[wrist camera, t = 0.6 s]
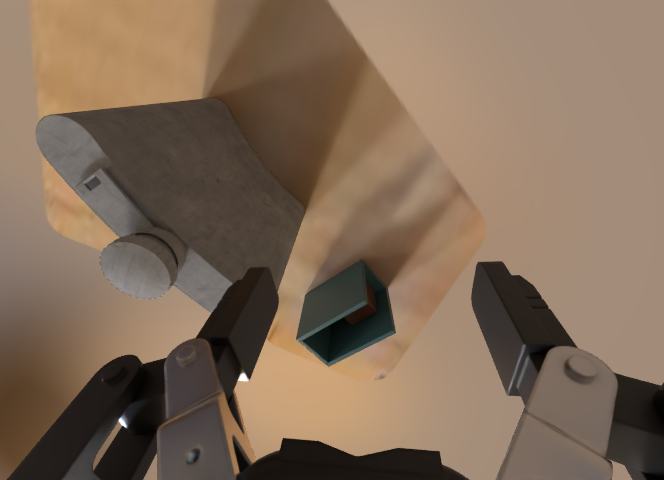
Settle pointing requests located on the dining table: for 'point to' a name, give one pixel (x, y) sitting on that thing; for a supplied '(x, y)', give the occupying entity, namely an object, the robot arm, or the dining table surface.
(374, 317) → the teal open box
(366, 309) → the walnut block
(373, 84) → the dining table surface
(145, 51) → the dining table surface
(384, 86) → the dining table surface
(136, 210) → the hip flask
